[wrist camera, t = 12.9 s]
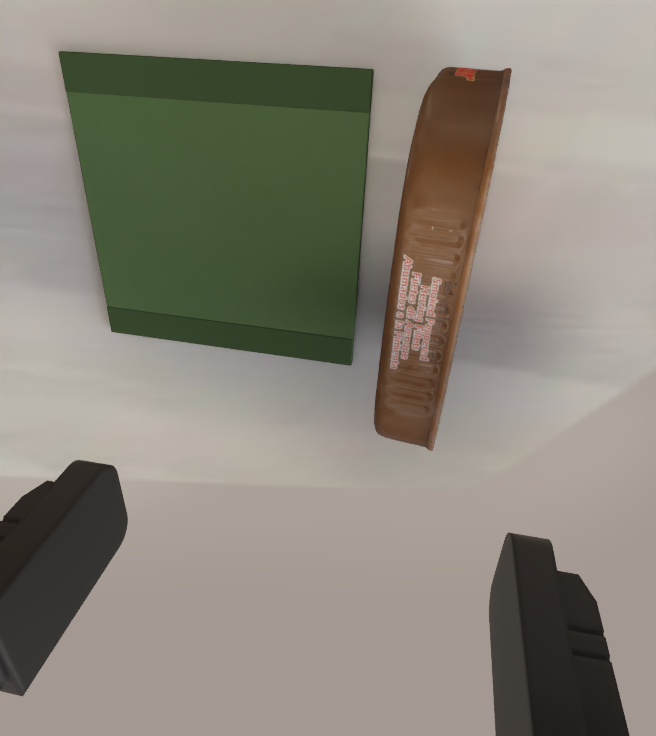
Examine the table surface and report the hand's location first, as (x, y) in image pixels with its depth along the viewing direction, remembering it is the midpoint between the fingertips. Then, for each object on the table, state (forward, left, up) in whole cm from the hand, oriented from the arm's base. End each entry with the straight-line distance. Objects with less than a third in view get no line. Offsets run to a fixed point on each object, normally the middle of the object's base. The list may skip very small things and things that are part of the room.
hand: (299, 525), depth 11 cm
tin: (0, +2, -18) cm, 18 cm away
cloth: (0, -8, -18) cm, 20 cm away
